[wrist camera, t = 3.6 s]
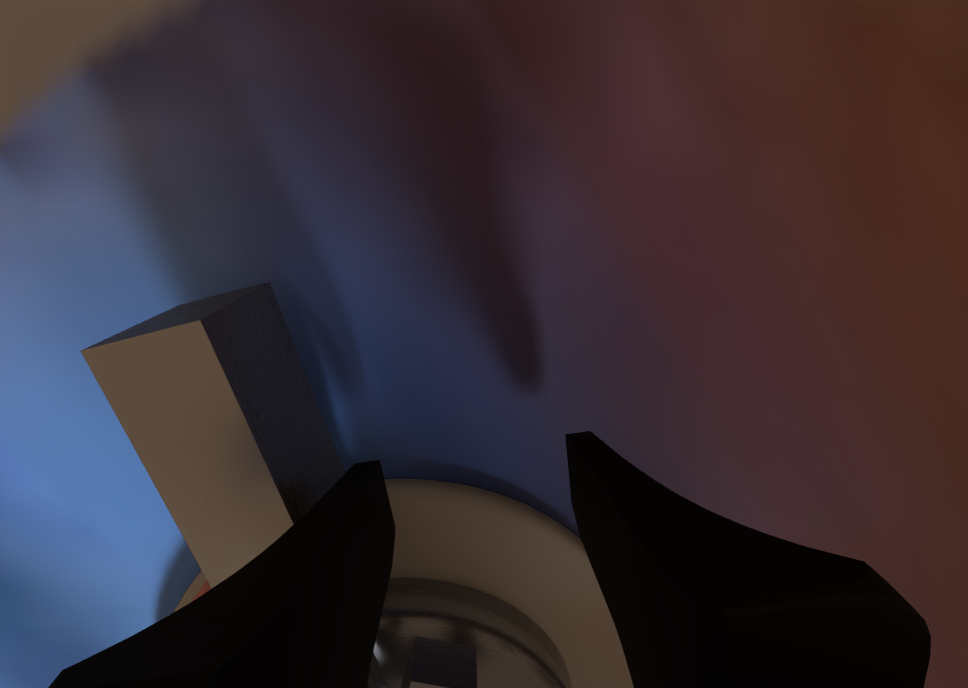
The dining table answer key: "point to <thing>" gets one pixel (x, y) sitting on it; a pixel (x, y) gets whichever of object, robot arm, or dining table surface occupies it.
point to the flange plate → (503, 568)
